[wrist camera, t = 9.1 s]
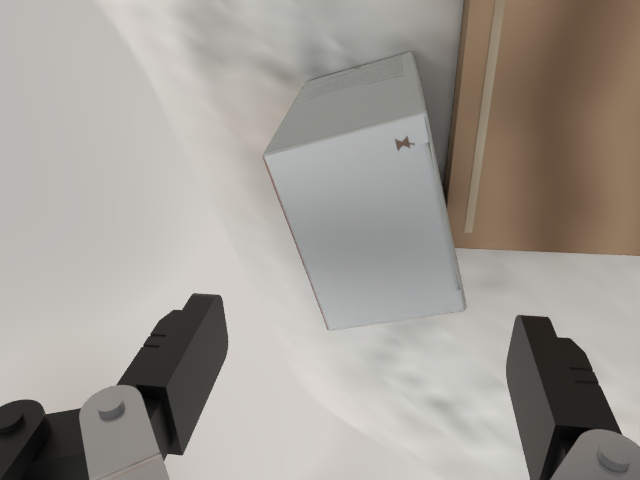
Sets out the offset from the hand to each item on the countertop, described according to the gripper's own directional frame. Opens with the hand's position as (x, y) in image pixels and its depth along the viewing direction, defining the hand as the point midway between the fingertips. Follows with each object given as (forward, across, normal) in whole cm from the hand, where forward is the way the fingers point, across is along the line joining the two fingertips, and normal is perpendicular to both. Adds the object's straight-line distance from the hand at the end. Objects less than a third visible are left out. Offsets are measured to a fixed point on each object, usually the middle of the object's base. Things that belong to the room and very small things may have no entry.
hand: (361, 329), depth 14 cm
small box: (+15, 0, 0) cm, 15 cm away
